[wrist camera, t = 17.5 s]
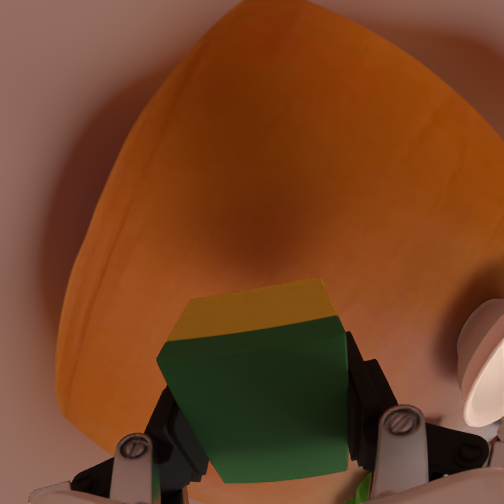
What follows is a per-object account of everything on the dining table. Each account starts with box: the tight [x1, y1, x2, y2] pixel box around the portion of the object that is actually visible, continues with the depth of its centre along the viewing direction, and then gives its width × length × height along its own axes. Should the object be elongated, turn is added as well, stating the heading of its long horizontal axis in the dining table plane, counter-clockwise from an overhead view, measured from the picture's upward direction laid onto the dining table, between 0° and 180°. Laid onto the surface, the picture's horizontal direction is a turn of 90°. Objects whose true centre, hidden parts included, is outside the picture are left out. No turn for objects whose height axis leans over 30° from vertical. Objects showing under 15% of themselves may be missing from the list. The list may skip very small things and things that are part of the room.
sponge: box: [156, 277, 349, 483], centre depth 10 cm, size 7×5×4 cm
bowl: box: [457, 298, 504, 427], centre depth 21 cm, size 16×16×8 cm
